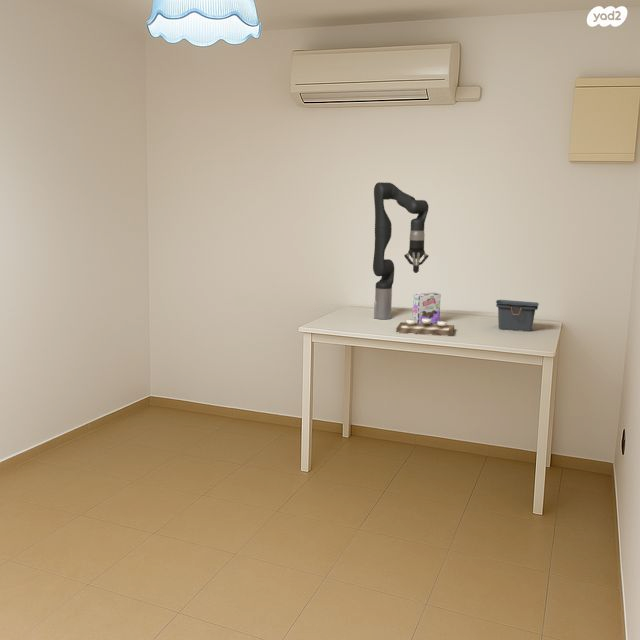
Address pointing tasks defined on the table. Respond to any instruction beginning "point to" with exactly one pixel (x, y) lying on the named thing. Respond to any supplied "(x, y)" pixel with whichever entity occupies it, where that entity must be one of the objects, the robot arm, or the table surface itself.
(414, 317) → the candy box
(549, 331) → the table surface
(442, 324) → the right button
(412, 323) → the left button
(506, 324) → the storage bin
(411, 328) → the button board
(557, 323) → the table surface
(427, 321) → the middle button
